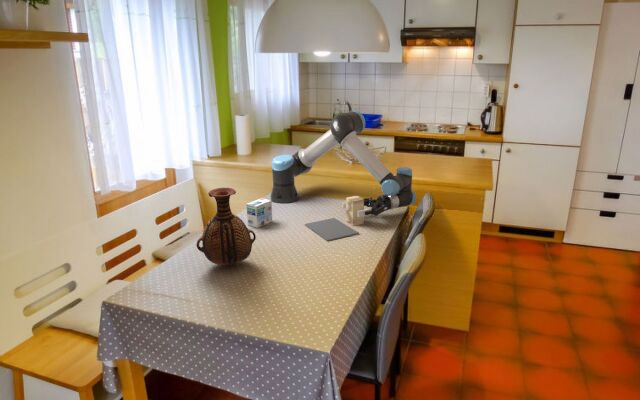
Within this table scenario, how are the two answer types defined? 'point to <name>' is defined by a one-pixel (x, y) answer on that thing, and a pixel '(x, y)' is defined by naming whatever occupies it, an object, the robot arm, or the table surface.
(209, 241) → the vase
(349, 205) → the beech block
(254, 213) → the light bulb box
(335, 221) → the mat
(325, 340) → the table surface
